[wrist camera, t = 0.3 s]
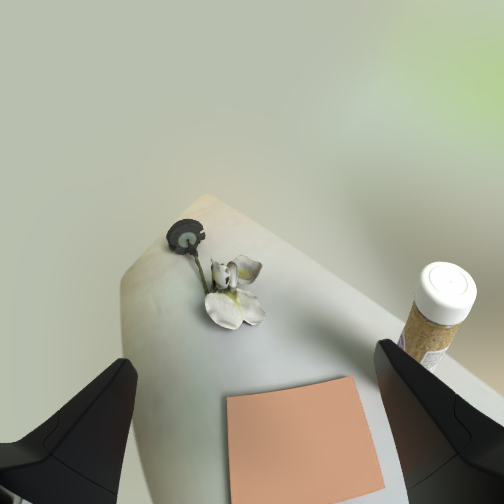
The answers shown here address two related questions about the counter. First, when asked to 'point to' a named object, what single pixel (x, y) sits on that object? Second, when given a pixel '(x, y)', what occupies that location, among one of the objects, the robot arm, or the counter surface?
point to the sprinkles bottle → (437, 312)
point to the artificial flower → (221, 279)
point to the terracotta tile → (301, 446)
